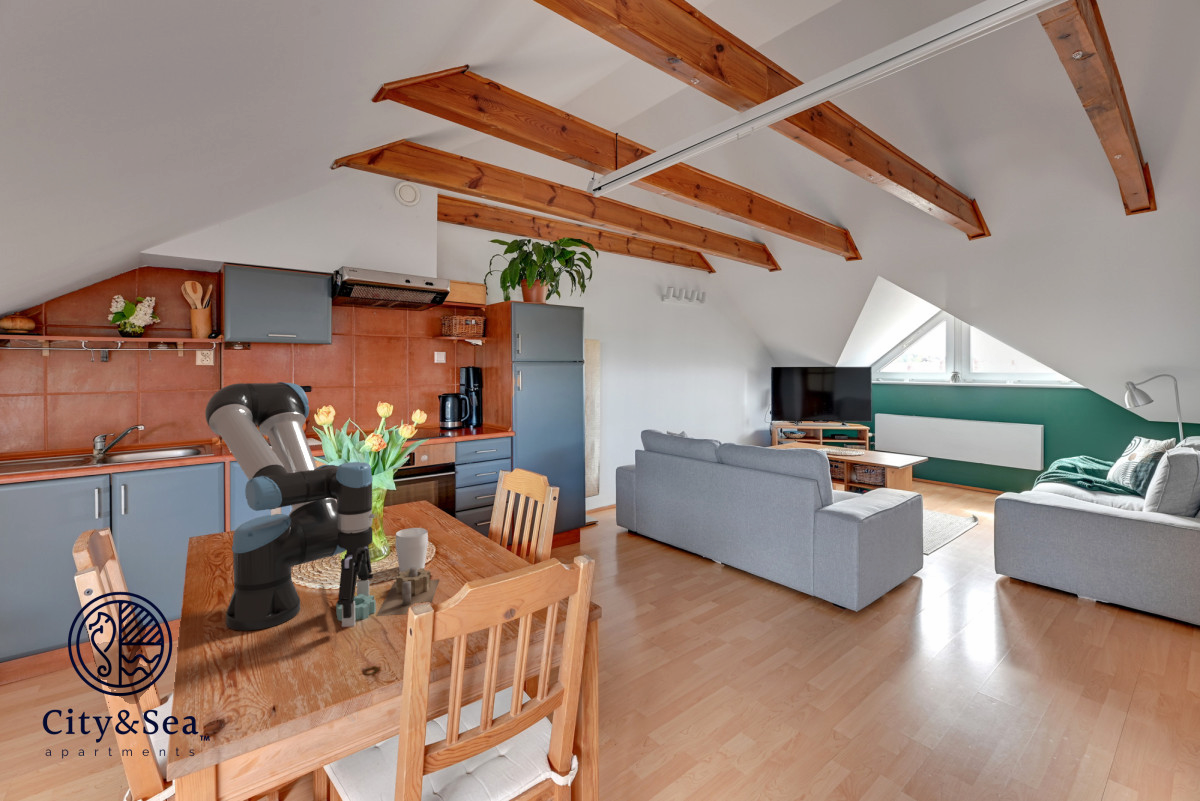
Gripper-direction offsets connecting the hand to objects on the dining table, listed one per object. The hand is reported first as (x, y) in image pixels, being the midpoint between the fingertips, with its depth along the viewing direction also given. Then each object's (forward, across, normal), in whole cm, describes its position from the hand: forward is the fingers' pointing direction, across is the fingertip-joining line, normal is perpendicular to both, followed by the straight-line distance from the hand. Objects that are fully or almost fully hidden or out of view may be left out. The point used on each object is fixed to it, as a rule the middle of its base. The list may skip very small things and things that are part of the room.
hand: (356, 617), depth 127 cm
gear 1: (0, 0, 0) cm, 0 cm away
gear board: (0, +8, -11) cm, 14 cm away
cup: (0, +27, -8) cm, 28 cm away
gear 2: (-1, +13, -11) cm, 17 cm away
